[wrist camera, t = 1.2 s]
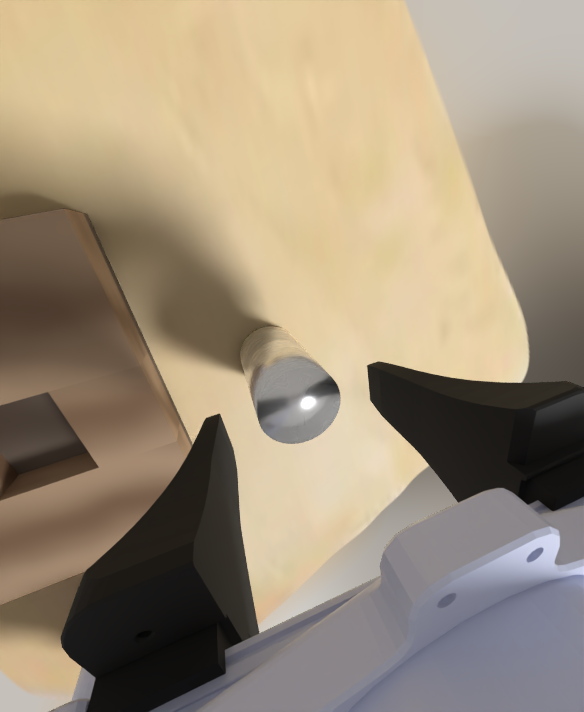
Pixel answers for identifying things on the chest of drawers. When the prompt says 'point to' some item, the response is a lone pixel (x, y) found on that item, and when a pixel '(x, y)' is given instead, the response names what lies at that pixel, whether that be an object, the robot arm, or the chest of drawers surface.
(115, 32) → the chest of drawers surface
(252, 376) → the peg
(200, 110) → the chest of drawers surface
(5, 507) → the socket board
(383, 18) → the chest of drawers surface
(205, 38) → the chest of drawers surface
